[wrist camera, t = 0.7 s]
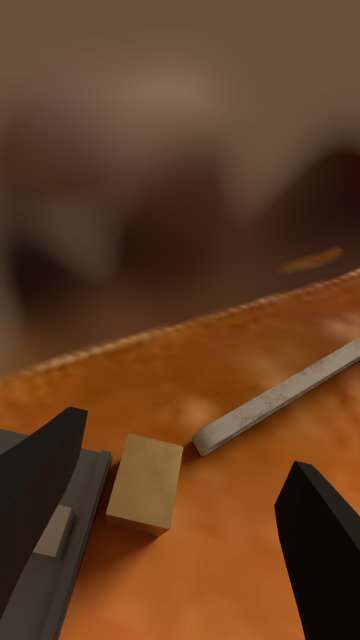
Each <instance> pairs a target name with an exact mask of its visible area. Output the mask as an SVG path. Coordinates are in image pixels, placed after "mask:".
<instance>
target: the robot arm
mask: <svg viewBox="0 0 360 640" xmlns="http://www.w3.org/2000/svg"><path fill="white" fill-rule="evenodd" d="M87 413H88V411H86V410H82V409H78V408H74V407H69V408H67V409H65V410H64V411H63V412H61V413H60V414H59V415H57V416H56V417H55V418H54V419H52V420H51V421H50V422H48V423H47V424H45V425H44V426H43V427H41V428H40V429H39V430H37V431H36V432H34V433H33V434H31V435H30V436H28V437H27V438H26V439H24V440H23V441H21V442H20V443H18V444H17V445H15V446H14V447H12V448H10V449H9V450H7V451H6V452H4V453H2V454H1V455H0V620H1V618H2V616H3V613H4V611H5V609H6V607H7V604H8V602H9V600H10V598H11V595H12V593H13V591H14V589H15V586H16V584H17V582H18V580H19V578H20V576H21V574H22V572H23V570H24V568H25V566H26V564H27V562H28V560H29V558H30V556H31V554H32V552H33V551H34V549H35V547H36V545H37V543H38V541H39V539H40V538H41V536H42V534H43V532H44V530H45V528H46V527H47V525H48V523H49V521H50V519H51V517H52V515H53V514H54V512H55V510H56V508H57V506H58V504H59V502H60V501H61V499H62V497H63V495H64V493H65V491H66V489H67V487H68V485H69V482H70V480H71V477H72V475H73V473H74V470H75V468H76V465H77V463H78V460H79V456H80V450H81V445H82V440H83V435H84V429H85V424H86V419H87ZM274 506H275V514H276V522H277V528H278V535H279V540H280V544H281V548H282V552H283V556H284V559H285V563H286V567H287V571H288V574H289V578H290V582H291V585H292V589H293V593H294V597H295V600H296V604H297V608H298V611H299V615H300V619H301V622H302V627H303V631H304V635H305V639H306V640H360V516H359V515H358V514H357V513H356V512H355V511H354V509H353V508H352V507H351V506H350V505H349V504H348V503H347V502H346V501H345V500H344V498H343V497H342V496H341V495H340V494H339V493H338V492H337V491H336V490H335V489H334V487H333V486H332V485H331V484H330V483H329V482H328V481H327V480H326V479H325V478H324V477H323V476H322V475H321V473H320V472H319V471H318V470H317V469H316V468H315V467H314V466H312V465H310V464H306V463H302V462H298V461H294V463H293V465H292V468H291V470H290V472H289V474H288V477H287V479H286V481H285V483H284V485H283V488H282V490H281V492H280V494H279V496H278V499H277V501H276V503H275V505H274Z"/></svg>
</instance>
